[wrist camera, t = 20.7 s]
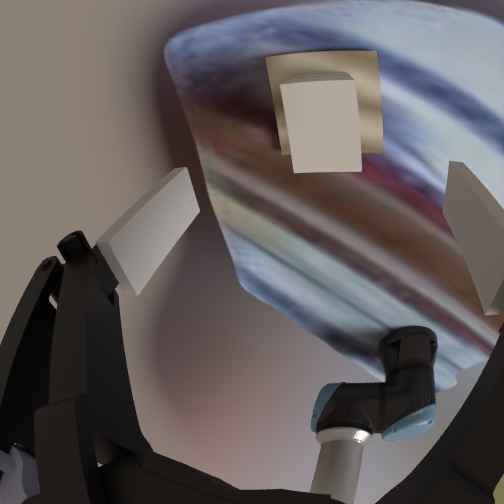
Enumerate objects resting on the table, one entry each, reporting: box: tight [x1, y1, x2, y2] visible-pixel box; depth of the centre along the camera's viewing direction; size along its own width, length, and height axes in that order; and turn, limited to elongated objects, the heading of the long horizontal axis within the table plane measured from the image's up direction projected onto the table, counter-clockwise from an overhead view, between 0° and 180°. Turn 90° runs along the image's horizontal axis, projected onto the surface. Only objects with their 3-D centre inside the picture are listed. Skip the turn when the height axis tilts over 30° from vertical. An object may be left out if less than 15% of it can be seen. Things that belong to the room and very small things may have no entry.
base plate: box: [265, 51, 383, 155], centre depth 32 cm, size 14×14×2 cm
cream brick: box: [280, 76, 362, 173], centre depth 24 cm, size 8×6×7 cm
